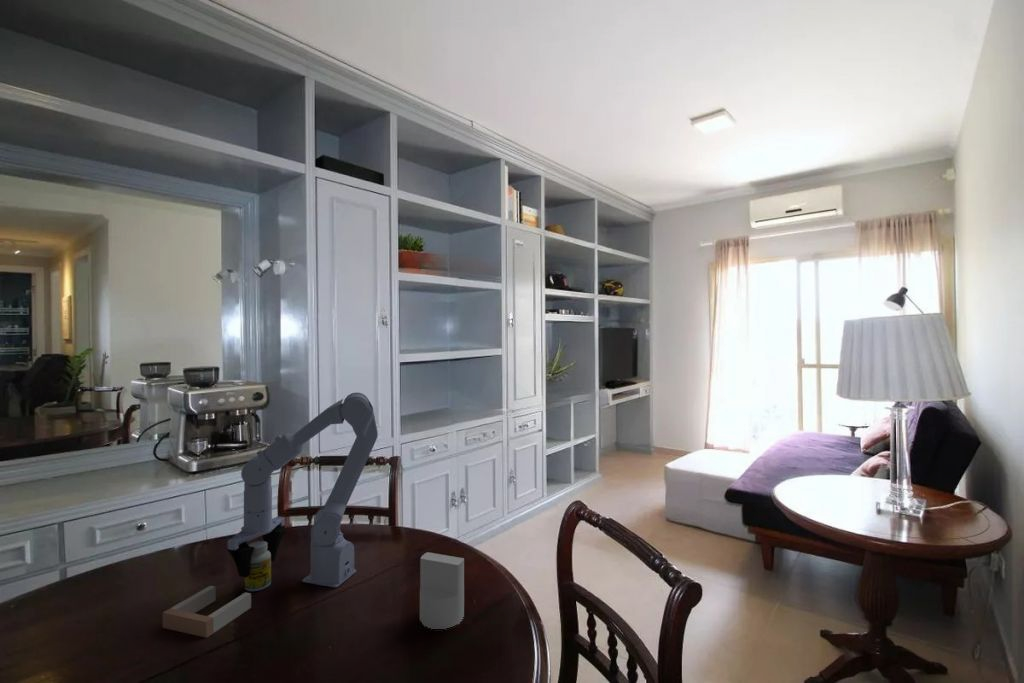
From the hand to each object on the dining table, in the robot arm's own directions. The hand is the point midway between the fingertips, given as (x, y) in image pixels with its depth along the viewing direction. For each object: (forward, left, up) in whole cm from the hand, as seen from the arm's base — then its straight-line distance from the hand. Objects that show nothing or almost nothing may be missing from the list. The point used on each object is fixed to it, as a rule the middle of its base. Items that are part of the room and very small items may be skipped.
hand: (257, 567), depth 109 cm
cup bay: (0, +12, -4) cm, 13 cm away
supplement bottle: (0, 0, -4) cm, 4 cm away
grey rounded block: (-46, -1, -4) cm, 46 cm away
